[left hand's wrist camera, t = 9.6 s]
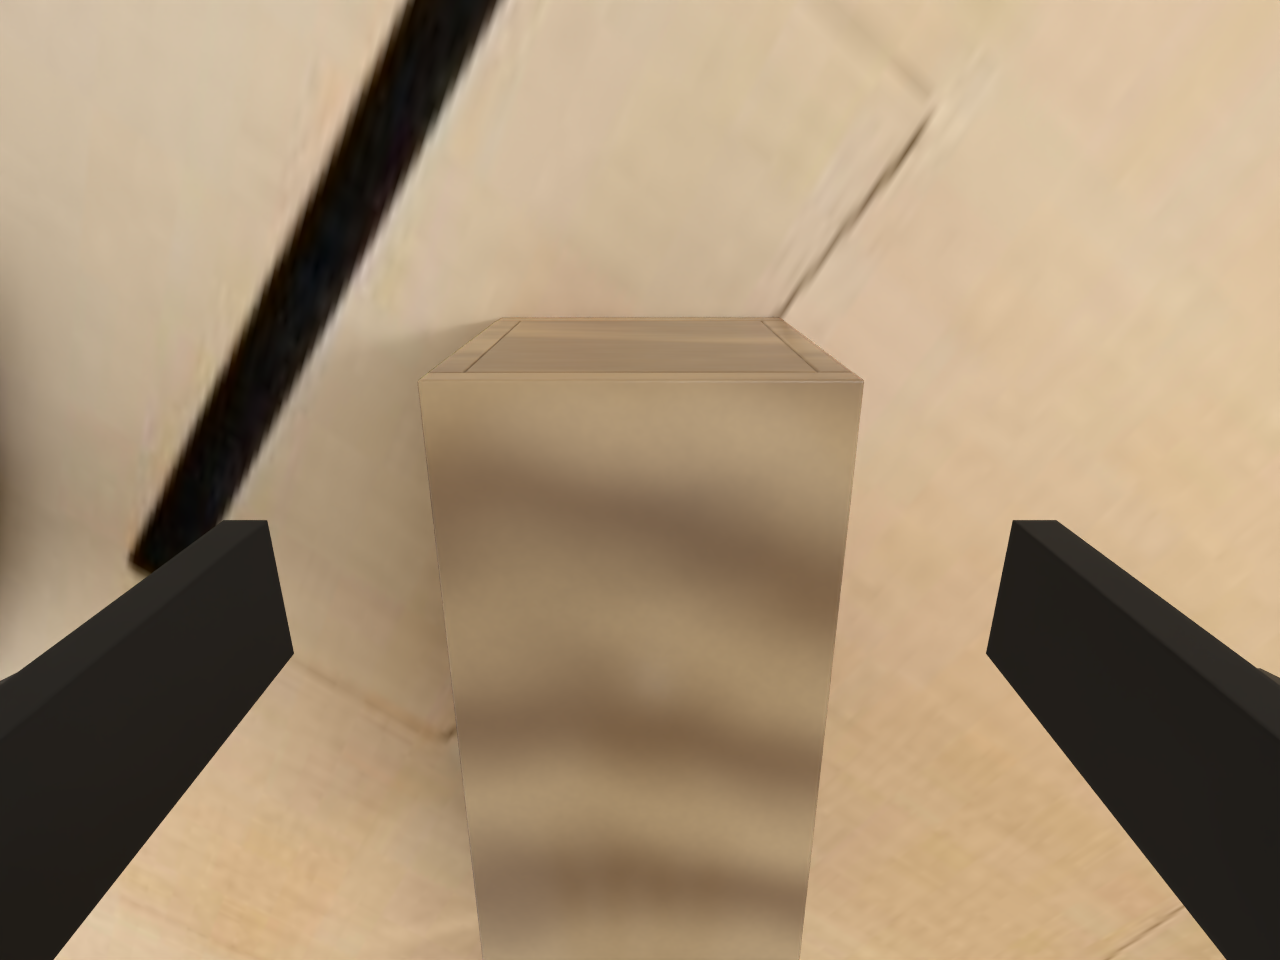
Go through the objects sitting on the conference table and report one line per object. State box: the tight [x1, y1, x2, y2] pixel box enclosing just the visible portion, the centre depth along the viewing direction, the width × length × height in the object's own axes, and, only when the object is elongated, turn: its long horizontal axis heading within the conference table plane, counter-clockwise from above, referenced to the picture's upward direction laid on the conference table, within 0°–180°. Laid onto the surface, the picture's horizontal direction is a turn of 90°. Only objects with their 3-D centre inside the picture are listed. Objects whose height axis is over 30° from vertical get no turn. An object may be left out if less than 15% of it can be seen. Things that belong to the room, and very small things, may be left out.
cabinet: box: [418, 318, 864, 960], centre depth 25 cm, size 21×10×10 cm, turn 0°
